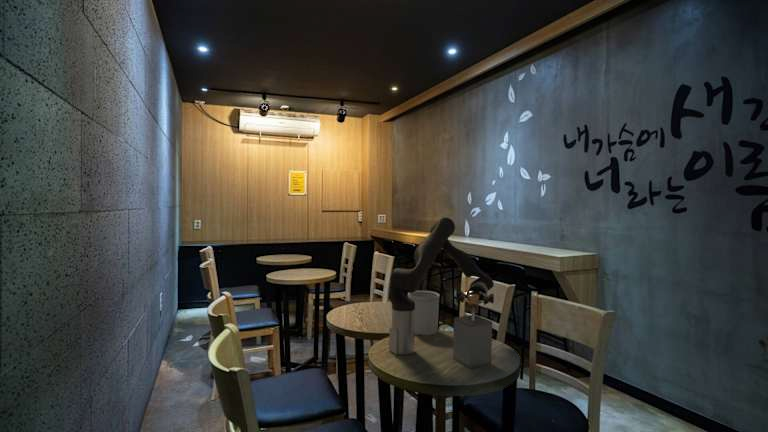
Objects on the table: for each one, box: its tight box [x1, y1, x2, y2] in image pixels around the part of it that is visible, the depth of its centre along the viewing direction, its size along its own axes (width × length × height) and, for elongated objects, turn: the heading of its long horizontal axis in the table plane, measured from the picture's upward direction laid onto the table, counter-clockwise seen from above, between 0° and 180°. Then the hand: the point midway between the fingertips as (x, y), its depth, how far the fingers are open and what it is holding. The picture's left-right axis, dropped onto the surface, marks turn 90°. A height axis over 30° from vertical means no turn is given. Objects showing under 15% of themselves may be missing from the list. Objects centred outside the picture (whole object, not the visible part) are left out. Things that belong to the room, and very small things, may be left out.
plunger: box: [467, 294, 480, 321], centre depth 156 cm, size 8×8×23 cm
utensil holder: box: [407, 290, 441, 336], centre depth 193 cm, size 15×15×18 cm
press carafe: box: [452, 314, 493, 369], centre depth 156 cm, size 10×10×16 cm
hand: (473, 300), depth 155 cm, fingers open, 8 cm apart
